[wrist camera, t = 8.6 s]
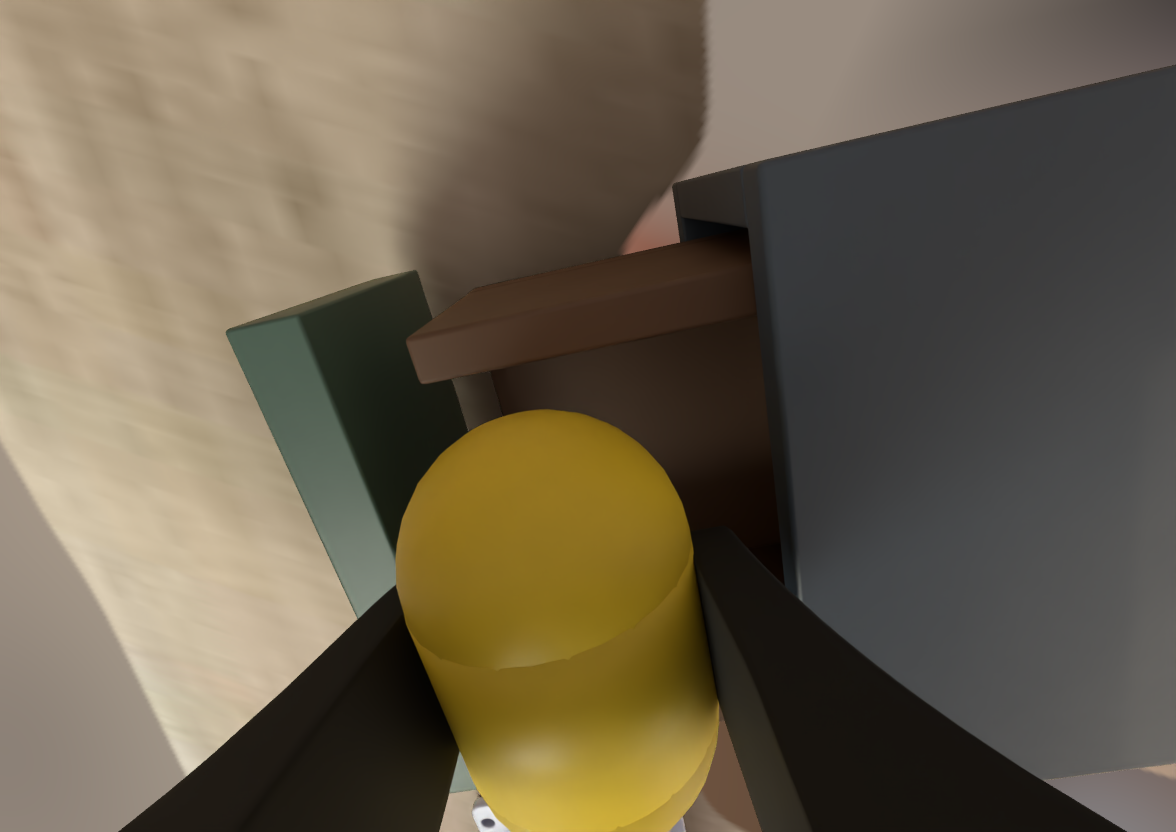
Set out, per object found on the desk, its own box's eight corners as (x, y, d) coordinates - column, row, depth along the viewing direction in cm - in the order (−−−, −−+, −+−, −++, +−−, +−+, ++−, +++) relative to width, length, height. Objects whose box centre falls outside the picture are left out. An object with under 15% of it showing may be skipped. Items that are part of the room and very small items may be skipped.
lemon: (707, 672, 11) (766, 913, 7) (516, 701, 11) (478, 945, 8) (650, 350, 9) (693, 463, 5) (409, 400, 9) (276, 541, 5)
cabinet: (727, 566, 18) (818, 811, 10) (671, 183, 13) (756, 161, 6) (1144, 495, 16) (1561, 717, 9) (1221, 56, 12) (2065, -142, 5)
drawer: (450, 615, 17) (385, 804, 12) (326, 289, 14) (148, 347, 8) (859, 546, 16) (993, 720, 11) (843, 172, 12) (1035, 147, 7)
